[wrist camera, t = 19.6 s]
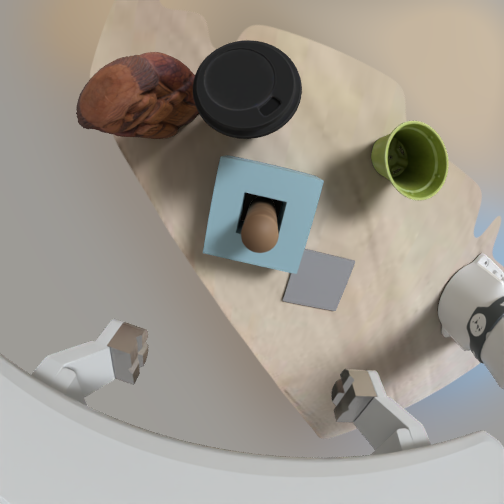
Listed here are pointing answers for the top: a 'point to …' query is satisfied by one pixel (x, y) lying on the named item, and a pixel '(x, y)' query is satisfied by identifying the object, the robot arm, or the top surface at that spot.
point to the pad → (319, 280)
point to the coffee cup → (247, 89)
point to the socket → (267, 185)
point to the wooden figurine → (139, 97)
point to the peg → (260, 226)
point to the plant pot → (412, 160)
